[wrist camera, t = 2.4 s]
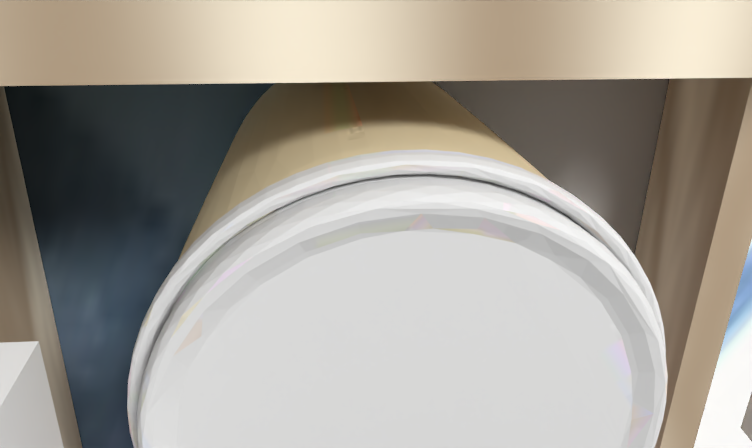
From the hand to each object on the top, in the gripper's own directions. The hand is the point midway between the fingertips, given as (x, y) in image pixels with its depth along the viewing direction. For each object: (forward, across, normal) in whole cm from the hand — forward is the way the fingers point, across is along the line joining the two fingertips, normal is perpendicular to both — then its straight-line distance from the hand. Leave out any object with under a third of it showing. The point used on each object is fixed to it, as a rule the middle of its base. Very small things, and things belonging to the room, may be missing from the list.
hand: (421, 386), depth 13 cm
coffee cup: (+11, +1, 0) cm, 11 cm away
